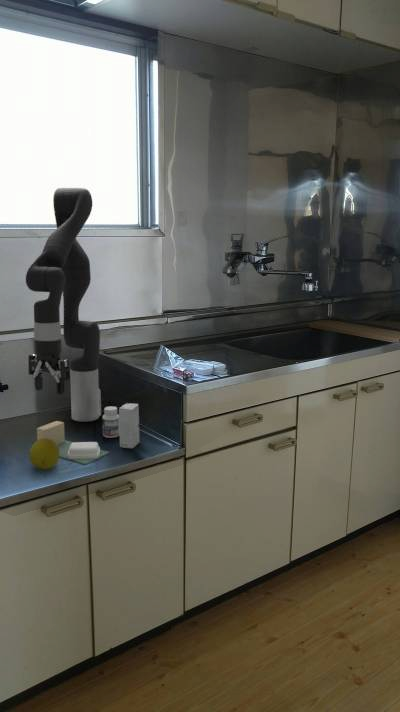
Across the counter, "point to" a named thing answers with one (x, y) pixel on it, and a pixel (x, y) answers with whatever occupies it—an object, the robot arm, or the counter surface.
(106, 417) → the pill bottle
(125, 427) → the skincare box
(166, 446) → the counter surface
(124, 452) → the counter surface
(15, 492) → the counter surface
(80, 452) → the soap
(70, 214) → the robot arm
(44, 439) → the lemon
